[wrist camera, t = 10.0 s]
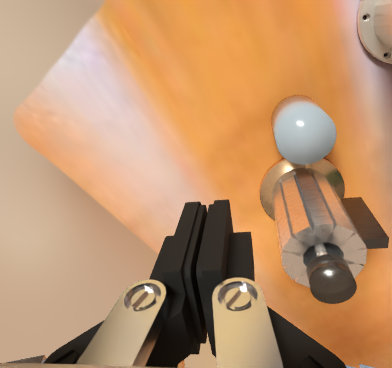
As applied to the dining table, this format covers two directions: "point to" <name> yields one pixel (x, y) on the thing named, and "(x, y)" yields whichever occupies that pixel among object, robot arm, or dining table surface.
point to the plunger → (330, 277)
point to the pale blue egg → (302, 130)
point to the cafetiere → (317, 217)
